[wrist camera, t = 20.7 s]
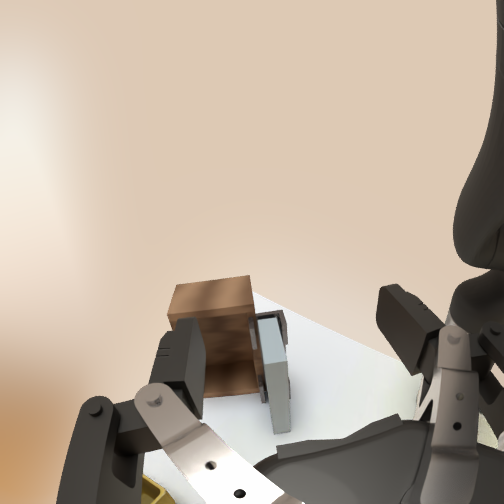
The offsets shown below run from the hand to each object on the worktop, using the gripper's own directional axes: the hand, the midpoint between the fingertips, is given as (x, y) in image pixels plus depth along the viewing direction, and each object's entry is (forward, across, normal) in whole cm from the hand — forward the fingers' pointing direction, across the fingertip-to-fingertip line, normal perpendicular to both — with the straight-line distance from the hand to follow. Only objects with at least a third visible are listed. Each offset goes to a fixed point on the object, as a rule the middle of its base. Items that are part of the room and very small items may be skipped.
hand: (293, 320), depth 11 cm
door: (+15, 0, +30) cm, 34 cm away
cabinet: (+24, +7, +30) cm, 39 cm away
